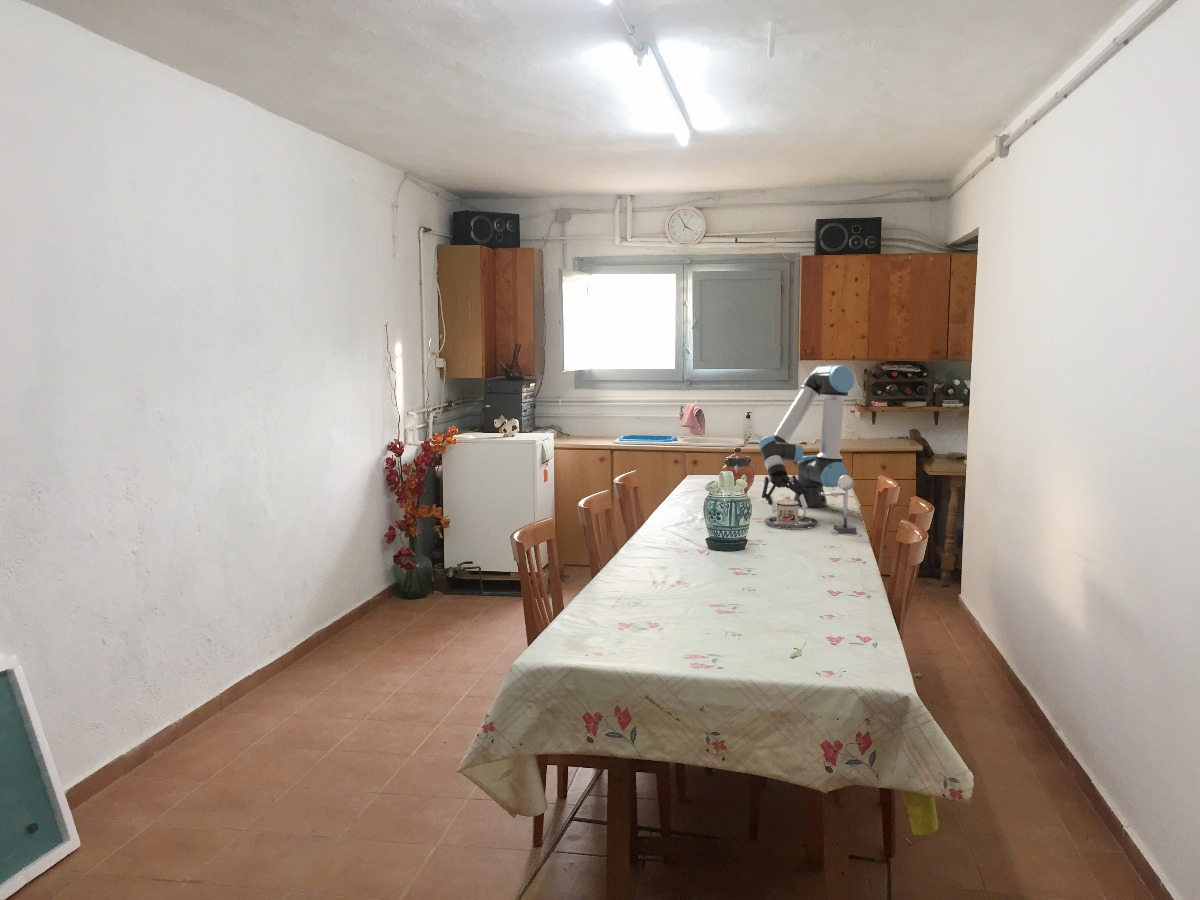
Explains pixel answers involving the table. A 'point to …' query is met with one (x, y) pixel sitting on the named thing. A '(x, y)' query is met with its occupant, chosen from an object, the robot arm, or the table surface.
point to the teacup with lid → (788, 511)
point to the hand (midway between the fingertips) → (790, 509)
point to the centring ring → (814, 523)
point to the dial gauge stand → (845, 484)
